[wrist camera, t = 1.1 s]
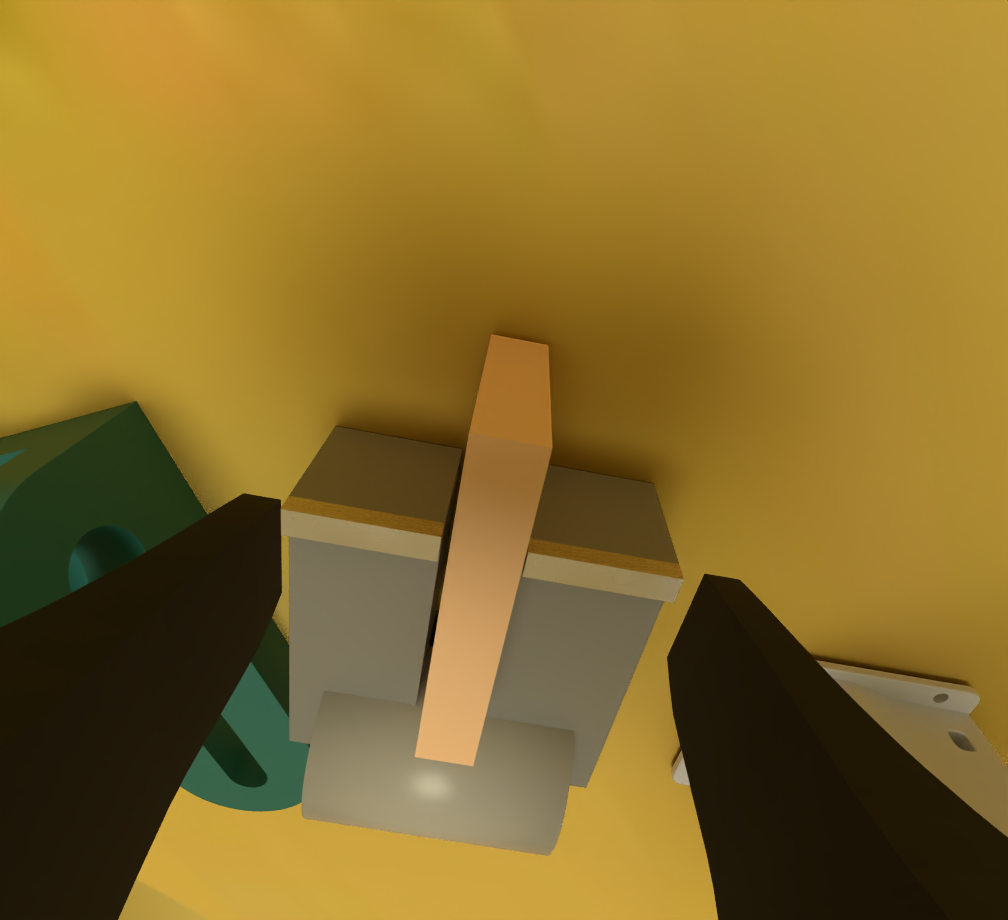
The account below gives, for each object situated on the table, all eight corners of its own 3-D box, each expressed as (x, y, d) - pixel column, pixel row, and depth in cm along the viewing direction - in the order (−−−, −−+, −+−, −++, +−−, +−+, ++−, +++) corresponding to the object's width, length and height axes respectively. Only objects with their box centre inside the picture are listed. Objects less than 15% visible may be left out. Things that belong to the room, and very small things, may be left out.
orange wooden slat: (491, 334, 16) (469, 432, 11) (548, 345, 17) (552, 447, 11) (445, 602, 21) (414, 757, 16) (489, 609, 21) (472, 766, 16)
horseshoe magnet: (335, 426, 19) (256, 544, 13) (653, 483, 19) (696, 619, 14) (324, 699, 25) (267, 851, 20) (562, 738, 25) (568, 896, 20)
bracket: (-32, 445, 20) (-329, 613, 13) (140, 398, 19) (-88, 556, 12) (228, 770, 28) (130, 977, 21) (359, 752, 27) (299, 965, 20)
